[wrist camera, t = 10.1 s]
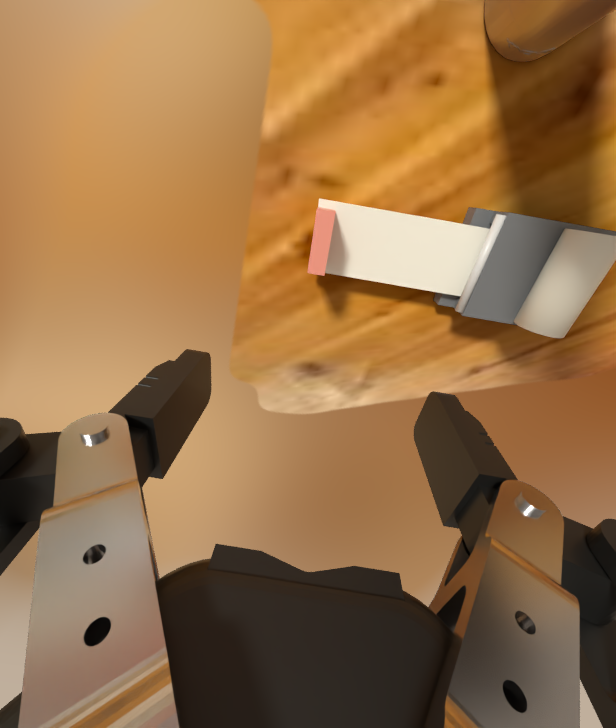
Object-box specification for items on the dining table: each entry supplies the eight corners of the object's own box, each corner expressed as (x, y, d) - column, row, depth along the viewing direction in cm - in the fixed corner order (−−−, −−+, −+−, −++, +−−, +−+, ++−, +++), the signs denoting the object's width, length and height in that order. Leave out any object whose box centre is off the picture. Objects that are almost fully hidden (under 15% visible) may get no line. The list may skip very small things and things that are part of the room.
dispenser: (468, 207, 33) (511, 210, 25) (587, 228, 33) (666, 238, 25) (433, 299, 38) (458, 325, 31) (535, 317, 39) (586, 347, 31)
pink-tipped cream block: (319, 198, 32) (317, 198, 27) (497, 230, 32) (527, 236, 27) (309, 268, 35) (305, 280, 31) (468, 296, 36) (489, 312, 31)
